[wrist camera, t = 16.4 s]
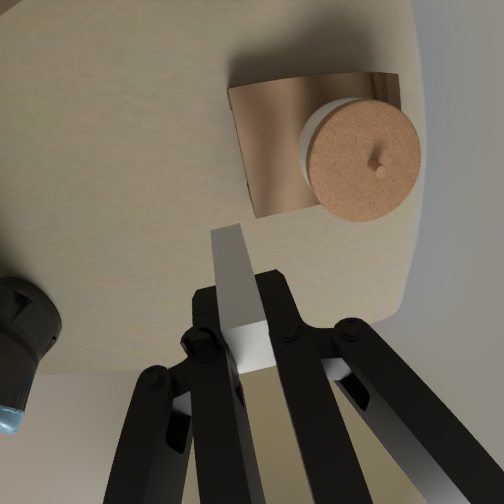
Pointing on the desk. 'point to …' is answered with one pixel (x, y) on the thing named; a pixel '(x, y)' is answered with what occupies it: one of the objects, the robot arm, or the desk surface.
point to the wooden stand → (291, 130)
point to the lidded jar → (359, 157)
